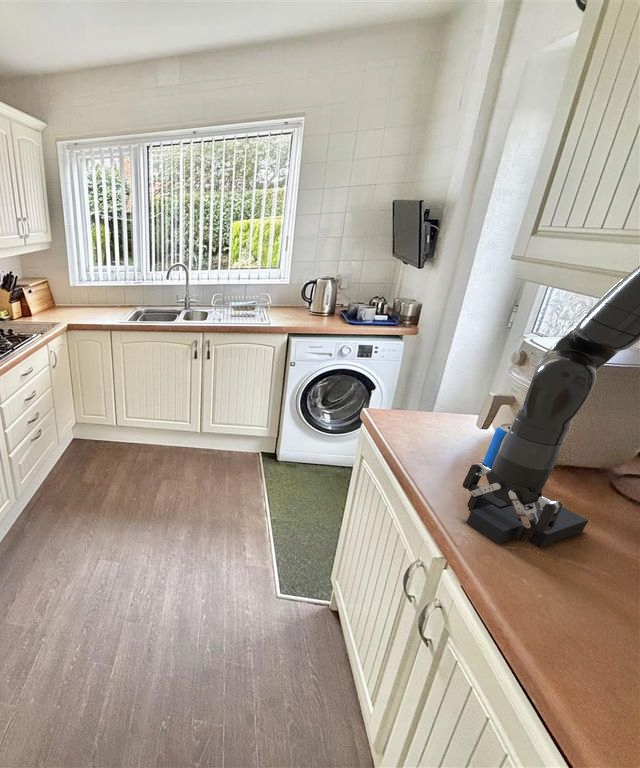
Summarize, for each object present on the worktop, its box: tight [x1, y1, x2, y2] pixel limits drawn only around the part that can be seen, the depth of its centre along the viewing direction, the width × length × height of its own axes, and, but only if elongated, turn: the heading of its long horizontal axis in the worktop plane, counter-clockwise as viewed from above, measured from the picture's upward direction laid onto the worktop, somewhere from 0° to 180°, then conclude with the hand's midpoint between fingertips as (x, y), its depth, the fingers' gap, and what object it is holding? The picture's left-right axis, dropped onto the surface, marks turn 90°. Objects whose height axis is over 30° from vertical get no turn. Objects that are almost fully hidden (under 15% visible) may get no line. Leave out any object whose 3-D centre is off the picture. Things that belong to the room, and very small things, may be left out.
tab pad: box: [465, 505, 522, 545], centre depth 81 cm, size 9×6×3 cm, turn 107°
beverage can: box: [482, 423, 512, 470], centre depth 95 cm, size 6×6×12 cm
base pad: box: [480, 492, 589, 548], centre depth 83 cm, size 12×12×3 cm
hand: (495, 524), depth 80 cm, fingers open, 8 cm apart
